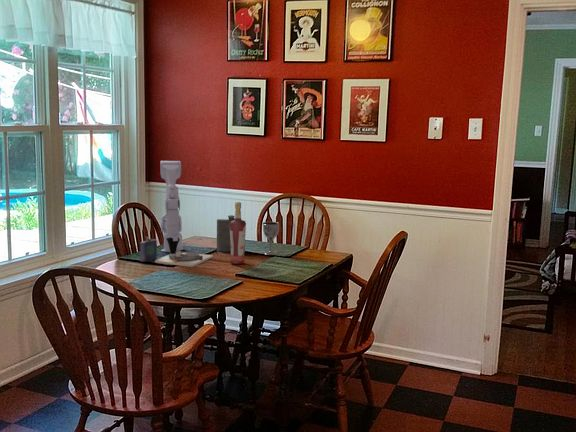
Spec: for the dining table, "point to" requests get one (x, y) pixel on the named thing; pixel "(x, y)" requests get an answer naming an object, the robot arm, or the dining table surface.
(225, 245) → the flask
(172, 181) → the robot arm
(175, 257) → the flange plate
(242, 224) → the liquor
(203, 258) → the base board
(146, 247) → the blue grey box
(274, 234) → the wine glass
